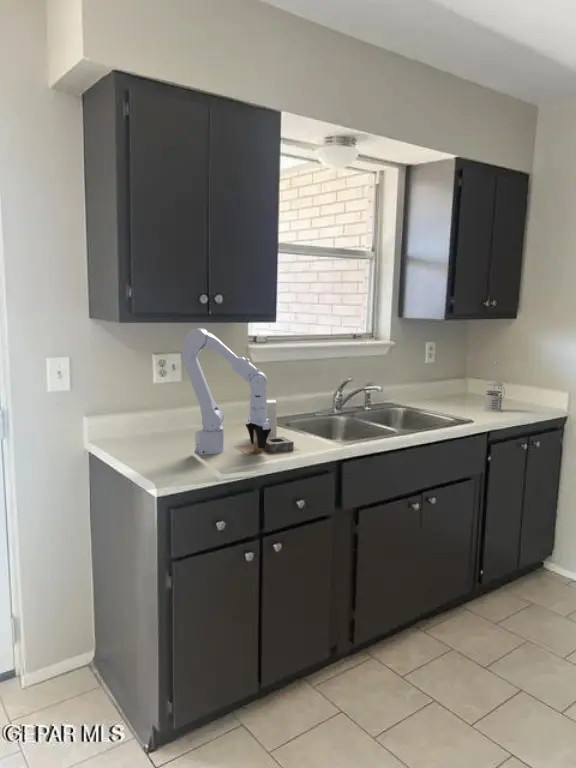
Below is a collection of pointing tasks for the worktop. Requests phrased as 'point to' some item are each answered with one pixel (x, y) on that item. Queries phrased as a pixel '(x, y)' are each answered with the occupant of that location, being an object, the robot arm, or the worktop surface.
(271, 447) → the socket board
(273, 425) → the skincare box
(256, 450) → the birch peg
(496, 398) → the french press
